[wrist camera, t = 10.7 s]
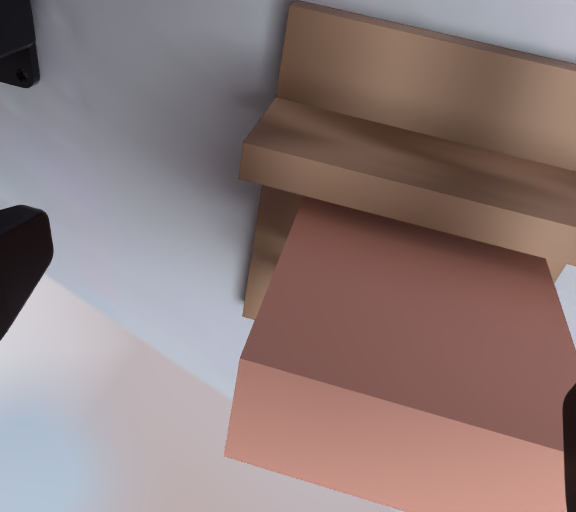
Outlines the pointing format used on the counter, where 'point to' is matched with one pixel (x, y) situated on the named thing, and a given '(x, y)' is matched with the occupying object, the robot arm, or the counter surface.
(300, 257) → the pink rectangular block
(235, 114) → the counter surface
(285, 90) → the book rack
